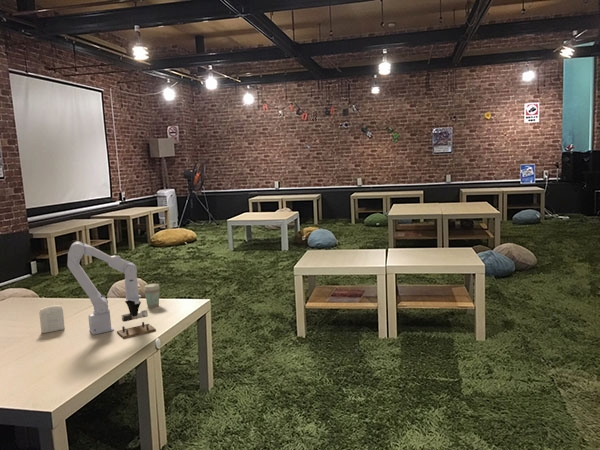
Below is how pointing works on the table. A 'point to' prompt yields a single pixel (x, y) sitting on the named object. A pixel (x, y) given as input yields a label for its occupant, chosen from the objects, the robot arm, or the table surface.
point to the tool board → (136, 330)
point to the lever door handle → (129, 316)
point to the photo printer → (51, 318)
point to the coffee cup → (152, 295)
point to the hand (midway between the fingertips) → (134, 315)
